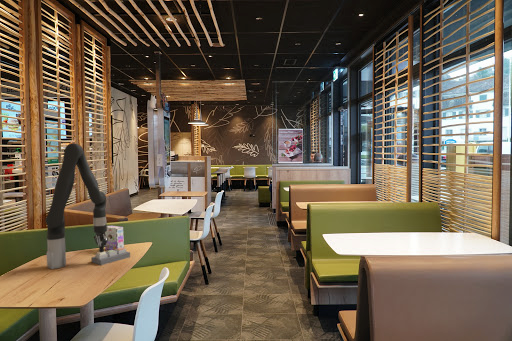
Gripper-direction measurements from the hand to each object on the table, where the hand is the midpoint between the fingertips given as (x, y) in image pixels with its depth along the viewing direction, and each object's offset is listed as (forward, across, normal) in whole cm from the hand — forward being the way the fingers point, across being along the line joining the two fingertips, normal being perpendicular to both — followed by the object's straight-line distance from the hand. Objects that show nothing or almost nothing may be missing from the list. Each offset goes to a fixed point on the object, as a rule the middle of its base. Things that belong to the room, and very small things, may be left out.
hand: (101, 251), depth 219 cm
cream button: (+2, 0, 0) cm, 2 cm away
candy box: (+7, -19, +20) cm, 28 cm away
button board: (+6, 0, +6) cm, 9 cm away
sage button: (+3, 0, +6) cm, 7 cm away
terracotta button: (+3, 0, +13) cm, 13 cm away
